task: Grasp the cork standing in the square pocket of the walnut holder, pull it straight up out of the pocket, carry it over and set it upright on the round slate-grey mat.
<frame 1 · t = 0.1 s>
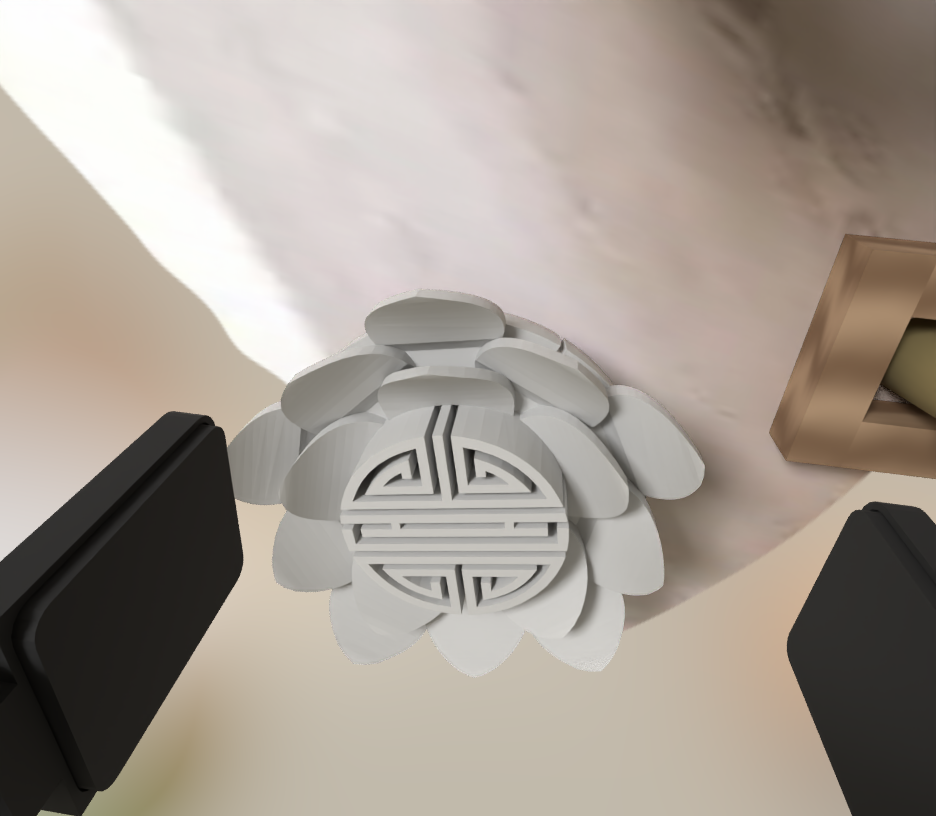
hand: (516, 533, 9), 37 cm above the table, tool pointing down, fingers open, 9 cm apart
decorative bowl: (475, 406, 51), on the table
walnut holder: (915, 354, 44), on the table
cork: (913, 353, 44), resting in walnut holder
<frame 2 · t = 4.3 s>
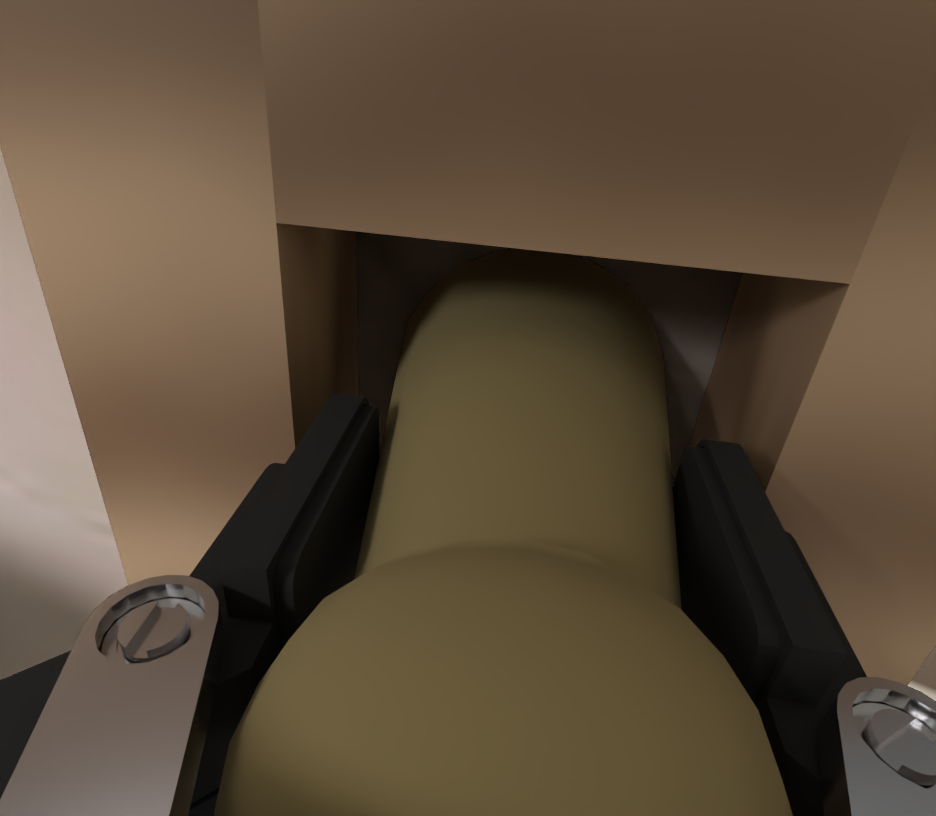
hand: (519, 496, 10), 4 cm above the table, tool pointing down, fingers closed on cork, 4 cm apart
walnut holder: (527, 378, 14), on the table
cork: (527, 374, 14), resting in walnut holder, touching gripper
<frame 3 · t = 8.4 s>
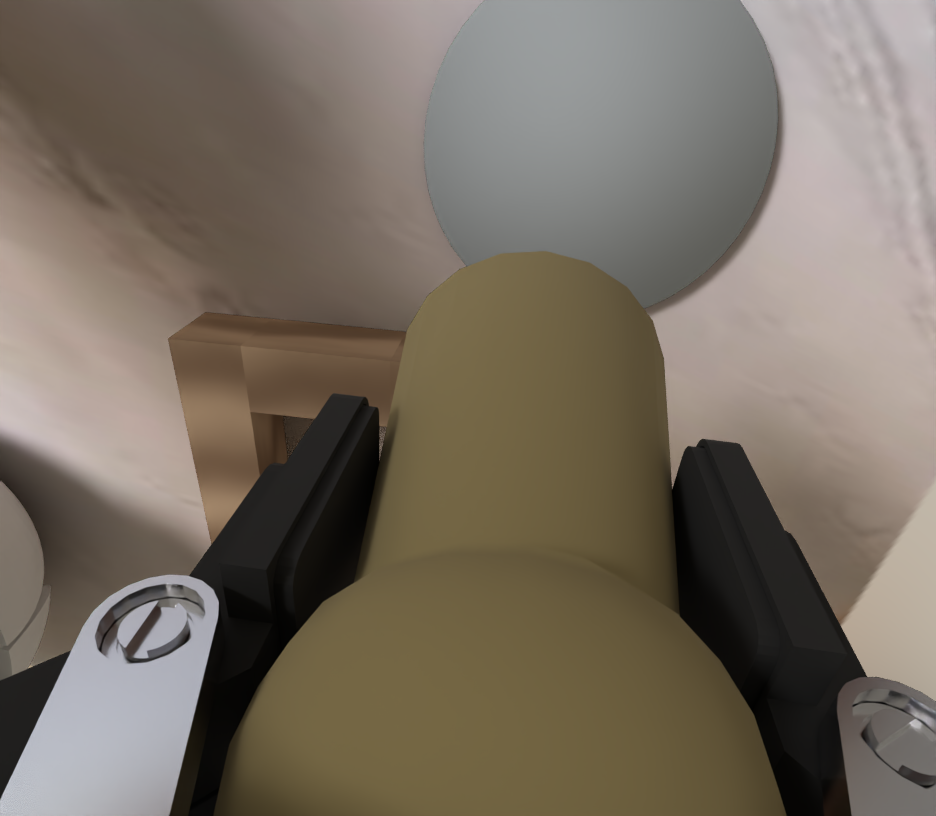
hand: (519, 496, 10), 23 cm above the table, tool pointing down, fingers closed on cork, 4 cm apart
walnut holder: (345, 441, 38), on the table
cork: (528, 377, 14), point 19 cm above the table, touching gripper
slate mat: (591, 154, 29), on the table
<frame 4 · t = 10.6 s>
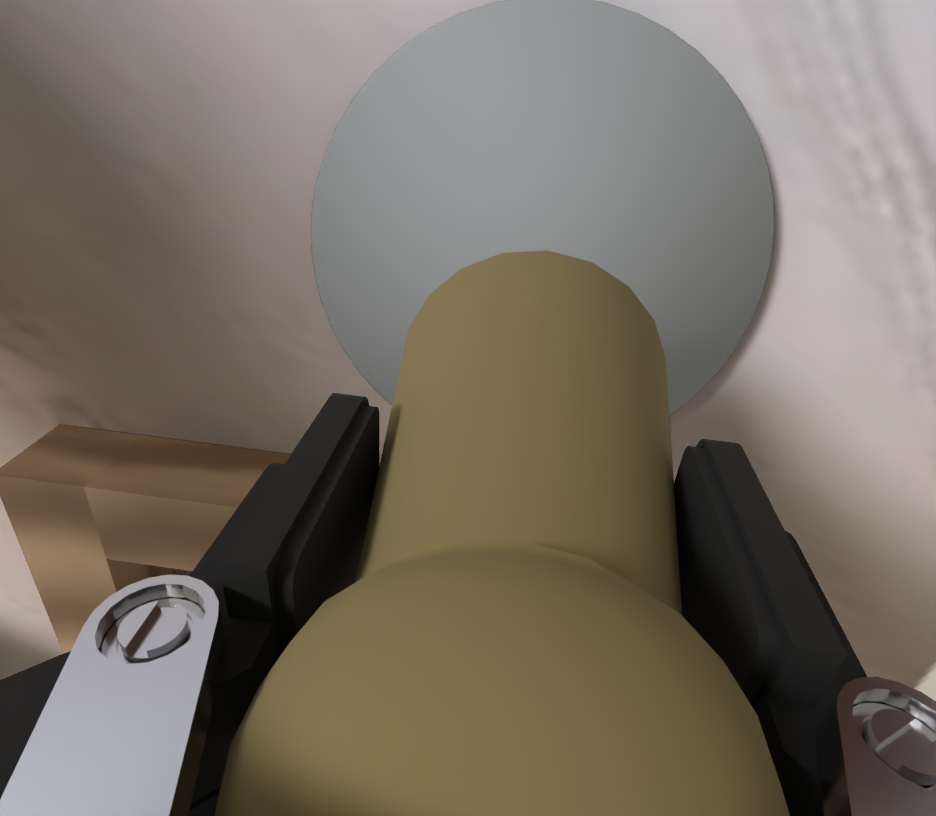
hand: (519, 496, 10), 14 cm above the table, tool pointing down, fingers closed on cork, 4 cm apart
walnut holder: (243, 571, 32), on the table
cork: (530, 376, 14), point 9 cm above the table, touching gripper
slate mat: (531, 262, 22), on the table
when the fingers open (6 cm above the table, at t = 12.4 s): cork stays where it is, resting on slate mat.
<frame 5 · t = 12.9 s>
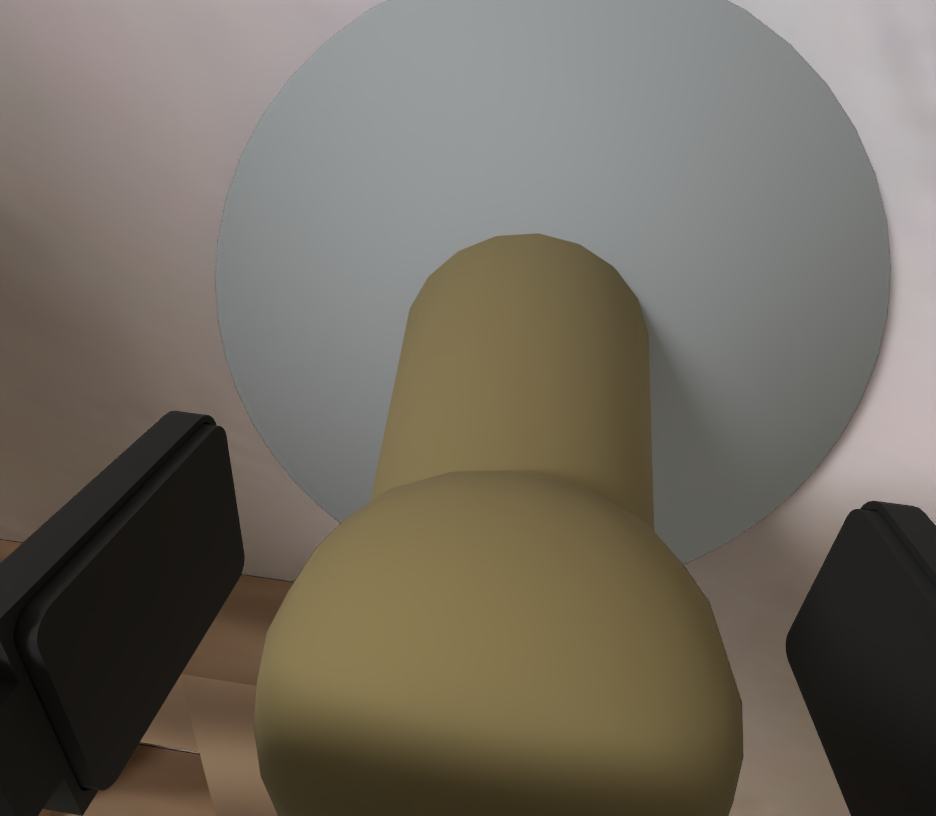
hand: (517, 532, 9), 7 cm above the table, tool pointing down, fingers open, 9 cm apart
walnut holder: (170, 698, 25), on the table
cork: (523, 353, 15), point 1 cm above the table, touching slate mat
slate mat: (529, 344, 16), on the table
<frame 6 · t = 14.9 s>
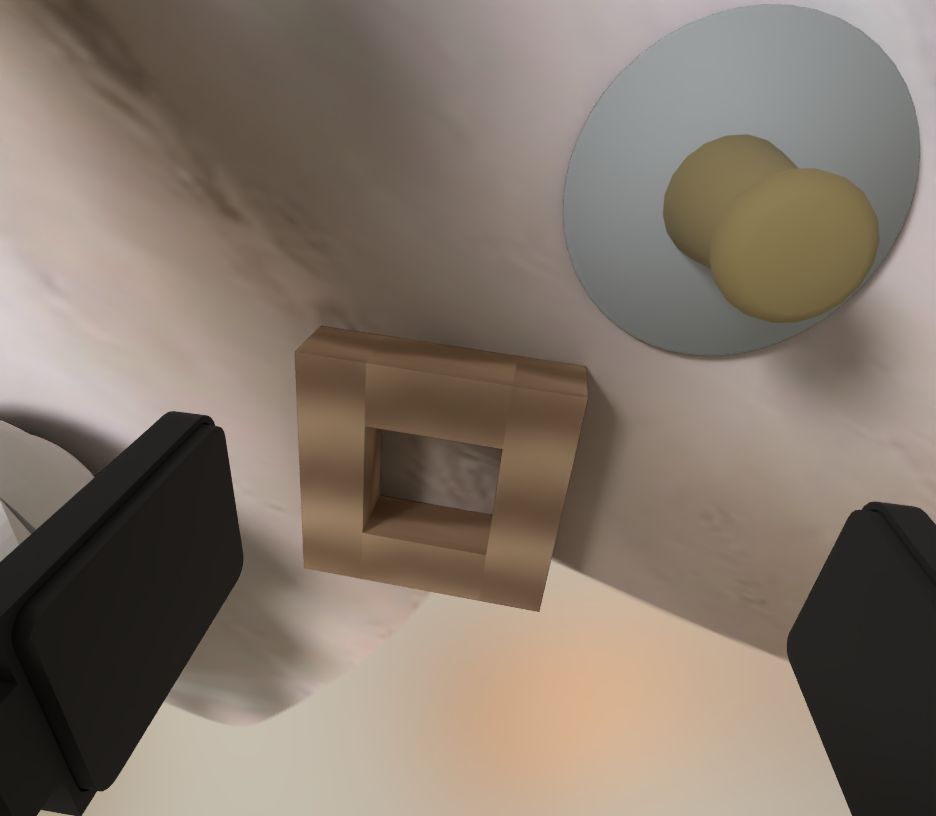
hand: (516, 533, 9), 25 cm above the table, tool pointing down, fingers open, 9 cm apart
decorative bowl: (27, 483, 46), on the table
walnut holder: (440, 457, 39), on the table
cork: (726, 201, 29), point 1 cm above the table, touching slate mat
slate mat: (726, 200, 30), on the table
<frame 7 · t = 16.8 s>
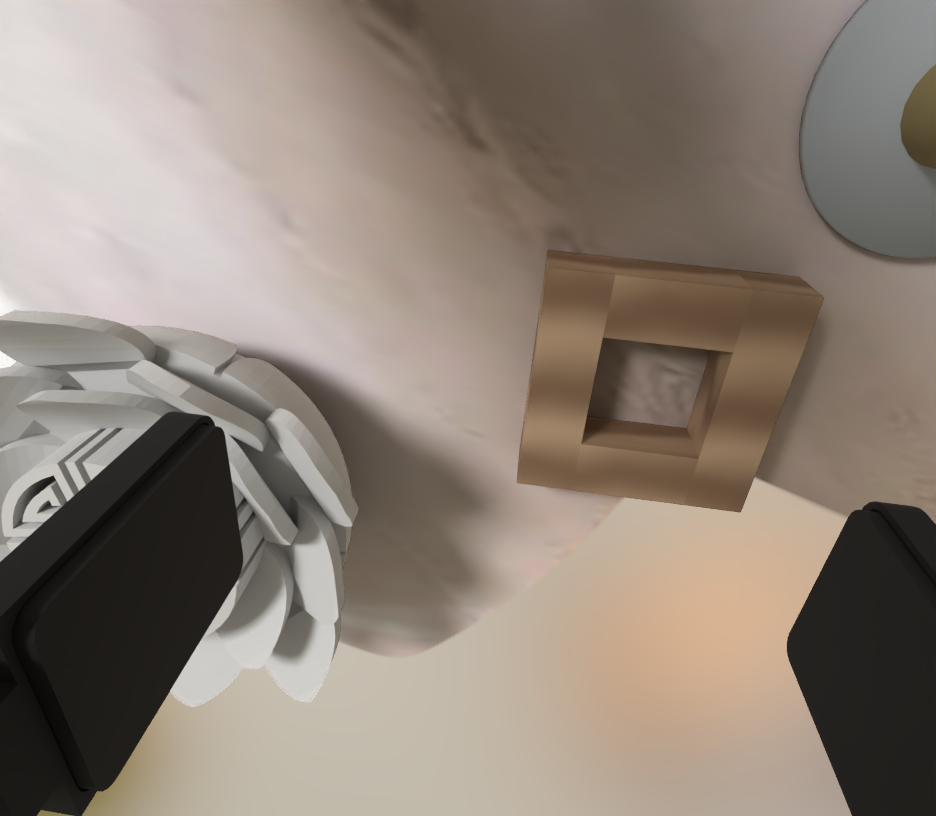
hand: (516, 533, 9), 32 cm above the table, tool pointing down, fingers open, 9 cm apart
decorative bowl: (228, 423, 49), on the table
walnut holder: (644, 374, 43), on the table
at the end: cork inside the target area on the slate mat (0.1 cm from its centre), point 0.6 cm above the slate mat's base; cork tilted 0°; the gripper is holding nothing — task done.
